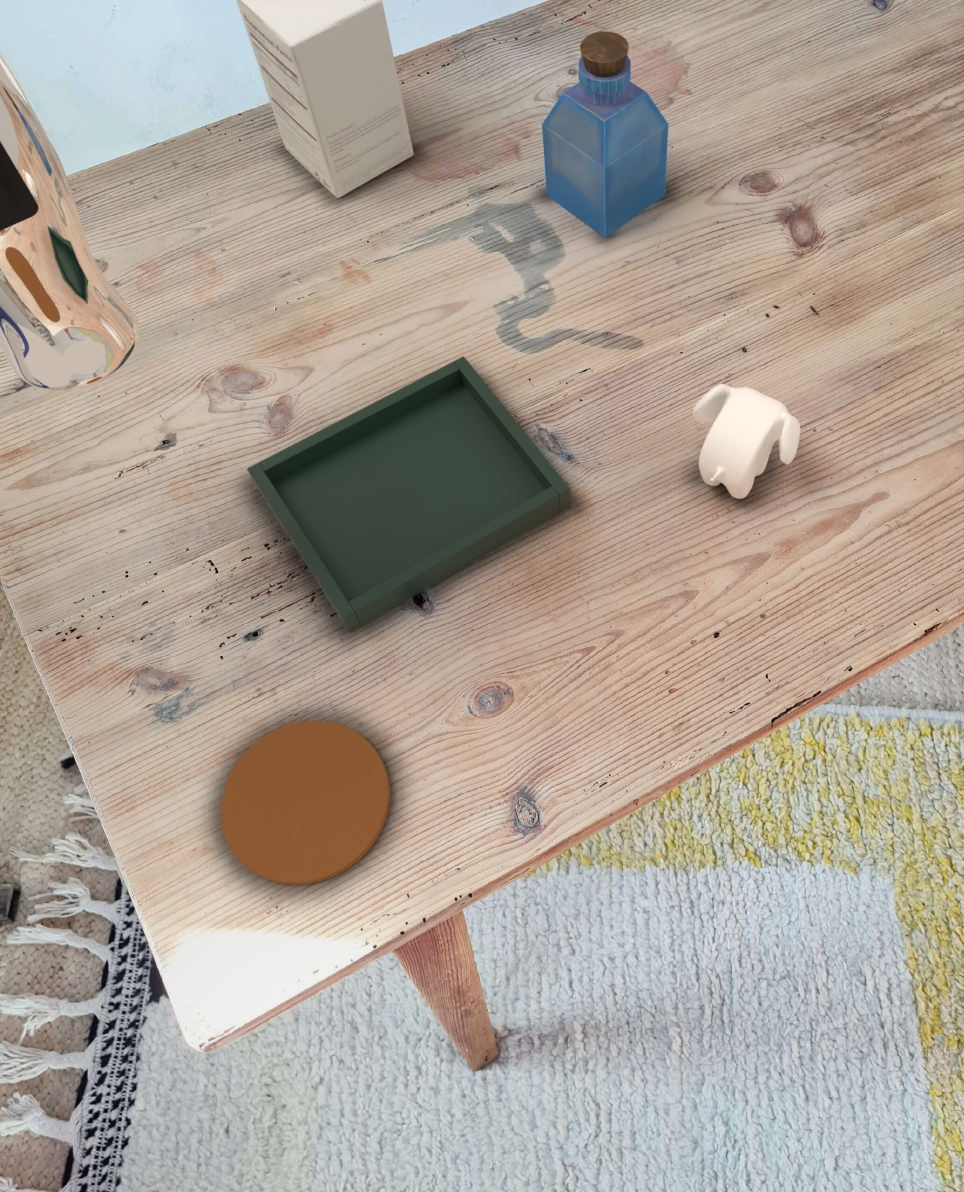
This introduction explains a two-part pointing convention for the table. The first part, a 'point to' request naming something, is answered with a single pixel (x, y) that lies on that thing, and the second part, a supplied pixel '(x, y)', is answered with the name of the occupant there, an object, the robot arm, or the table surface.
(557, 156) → the perfume bottle
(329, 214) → the table surface
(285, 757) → the coaster
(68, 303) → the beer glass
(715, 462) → the elephant figurine
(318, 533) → the tray
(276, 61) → the white packaging box
